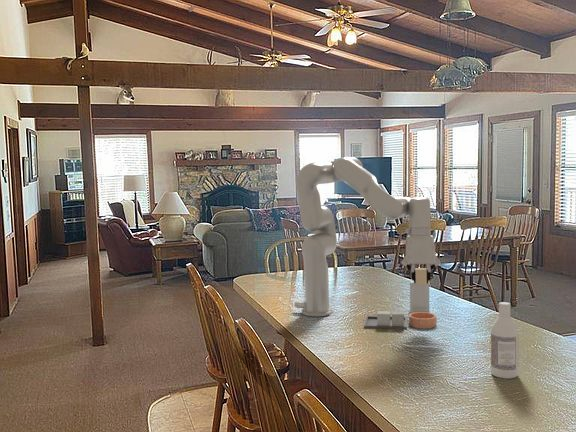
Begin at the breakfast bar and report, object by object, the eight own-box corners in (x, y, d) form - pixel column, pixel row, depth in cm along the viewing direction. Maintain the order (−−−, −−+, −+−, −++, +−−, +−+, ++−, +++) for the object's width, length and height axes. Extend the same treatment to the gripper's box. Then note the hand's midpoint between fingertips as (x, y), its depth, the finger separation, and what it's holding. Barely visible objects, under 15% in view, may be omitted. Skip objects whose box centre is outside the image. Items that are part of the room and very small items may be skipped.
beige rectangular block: (415, 284, 199) (415, 270, 198) (415, 281, 203) (415, 268, 203) (426, 284, 198) (426, 270, 197) (426, 281, 202) (426, 268, 202)
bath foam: (496, 368, 158) (496, 299, 156) (521, 373, 153) (522, 302, 152) (487, 375, 153) (487, 304, 151) (512, 381, 148) (513, 307, 146)
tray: (364, 328, 199) (364, 325, 199) (366, 319, 212) (366, 316, 212) (407, 330, 196) (406, 326, 196) (406, 320, 209) (406, 317, 209)
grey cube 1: (377, 327, 199) (377, 313, 199) (377, 324, 203) (377, 311, 203) (390, 327, 198) (390, 314, 198) (390, 324, 202) (390, 311, 202)
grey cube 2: (392, 327, 198) (391, 314, 198) (392, 324, 202) (392, 311, 202) (404, 328, 197) (403, 314, 197) (404, 325, 201) (403, 311, 201)
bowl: (409, 328, 198) (409, 318, 198) (409, 321, 208) (408, 311, 207) (437, 329, 196) (437, 319, 196) (435, 322, 206) (435, 312, 205)
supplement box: (429, 315, 215) (429, 282, 214) (410, 314, 217) (409, 282, 216) (428, 310, 223) (428, 278, 221) (409, 309, 224) (409, 278, 223)
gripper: (396, 233, 197) (397, 284, 199) (444, 232, 194) (445, 284, 195) (396, 231, 204) (397, 280, 206) (443, 230, 201) (444, 280, 202)
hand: (421, 282), depth 200 cm, fingers closed on beige rectangular block, 3 cm apart
